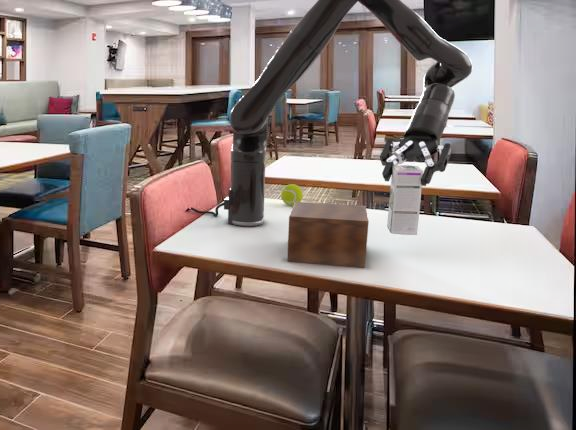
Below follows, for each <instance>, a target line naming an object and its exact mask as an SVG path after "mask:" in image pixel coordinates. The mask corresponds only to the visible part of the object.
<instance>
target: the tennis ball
mask: <svg viewBox="0 0 576 430" xmlns="http://www.w3.org/2000/svg"><path fill="white" fill-rule="evenodd" d="M280 197H281V200H282V201H283V203H284V204H285V205H287V206H292V207H293V206H294V203H295V202H302V200H303V197H304V193H303V190H302V188H301V187H300V186H299V185H297V184H294V183H290V184H287V185H285V186H284V187H283V188H282V190H281V192H280Z"/></svg>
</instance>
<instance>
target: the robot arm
mask: <svg viewBox="0 0 576 430" xmlns="http://www.w3.org/2000/svg"><path fill="white" fill-rule="evenodd" d="M357 3H359V4H361V5H362V6H363V7H365V8H366V9H367V10H368V11H369V12H370V13H371V14H372V15H373V16H374V17H376V18H377V19H378V21H380V22H381V24H382V25H383V26H384V27H385V28H386V29H387V30H388V32H389V33H390V34H391V35H392V37H394V38H395V39H396V41H397V42H398V43H399V45H401V46H402V47H403V49H404V50H405V51H406V52H407V53H408V54H409V55H410V56H411V57H412V58H413V59H414V60H415V61H417V62H421V61H424V60H426V59H427V60H428V59H431V60H434V61H436V62H435V63H433V64H432V65H431V66H430V67H429V68H428V69H427V71H426V73H425V74H424V77H423V85H422V94H421V96H420V99H419V101H418V104H417V106H416V108H415V109H414V110H413V112H412V115H411V117H410V120H409V122H408V125H407V126H406V129H405V132H404V134H403V138H401V140H399V141H393V139H391V138H388V139H386V142H385V144H384V146H383V148H382V151H381V154H380V156H379V160H380V162H381V163H380V164H381V166H384V167H383V170H382V173H381V175H382V177H383V179H384V181H385V182H390V181H391V177H392V167H393V166H399V165H403V163H405V162H406V161H407V162H417V163H422V162H424V164H425V168H424V170H423V175H422V178H421V184H422V187H426V186H427V185H429V184H430V183H431V181H432V179H433V176H434V173H437V172H439V173H440V172H441V173H443V172H445V171H446V168H447V166H448V163H449V161H450V158H451V155H452V147H451V144H450V143H448V142H447V143H445V144H440V141H441V138H442V136H443V133H444V131H445V129H446V127H447V124H448V120H449V115H450V112H451V109H452V107H453V104H454V101H455V96H456V95H455V94H456V93H455V91H454V88H453V87H455V86H456V85H458V84H459V83H461V82H463V81H464V80H465V79H467V78H468V77H469V76H470V75H471V73H472V72H473V63H472V59H471V58H470V57H469V55H467V53H466V52H464V51H463V50H462V49H460V48H459V47H457V46H456V45H454V44H452V43H450V42H449V41H447V40H446V39H443V38H442V37H440V36H439V35H438V34H437V33H436V32H435V31H434V29H432V27H431V26H430V25H429V24H428V23H427V21H425V20H424V19H423V17H421V16H420V15H419V14H418V13H417V12H416V11H414V10H413V9H412V8H410V7H409V6H408V5H407V4H406V3H404V2H403V1H402V0H317V1H316V2H315V3H314V4H313V6H311V8H309V10H307V12H305V14H304V15H303V17H301V19H299V21H298V22H297V24H296V25H295V26H294V28H293V29H292V30H291V31H290V32H289V33H288V35H287V36H286V37H285V39H284V40H283V41H282V42H281V44H280V45H279V47H278V49H277V50H276V51H275V52H274V54H273V56H272V58H271V59H270V60H269V62H268V63H267V65H266V67H265V68H264V70H263V72H262V73H261V74H260V76H259V78H258V79H257V80H256V81H255V83H254V84H253V85H252V86H251V87H250V89H249V90H248V91H247V92H246V93H245V94H244V95H242V97H241V98H240V99H239V100H238V101H237V102H236V103H235V104H234V105H233V106H232V108H231V110H230V114H229V124H230V126H231V128H232V144H231V149H230V183H229V184H230V185H229V187H230V188H229V189H228V196H226V197H225V198H224V199H223V202H222V203H219V204H218V205H217V206H216V207H215V210H214V211H215V212H214V211H211V210H198V209H196V208H194V207H191V206H190V207H191V209H189V207H187V208H185V212H189V211H192V212H195V213H197V214H202V215H205V214H206V215H213V216H214V217H218V216H219V209H220V208H221V207H223V210H224V211H225V210H227V224H229V225H235V226H238V227H239V226H240V227H257V226H262V225H263V224H264V223H265V214H264V213H265V190H266V189H265V187H266V186H265V185H266V184H265V183H266V156H267V149H268V147H267V146H268V125H269V116H270V114H271V113H272V111H273V110H274V108H275V107H276V105H277V104H278V102H279V101H280V99H281V98H282V97H284V95H285V94H286V93H287V92H288V91H289V90H290V89H291V88H292V87H293V86H294V85H295V84H296V83H297V82H298V81H299V80H300V79H301V78H302V77H304V75H305V74H306V73H307V72H308V71H309V69H310V68H311V67H312V66H313V65H314V64H315V62H316V61H317V59H319V57H320V56H321V54H322V53H323V51H325V49H326V48H327V47H328V44H329V43H330V42H331V40H332V38H333V36H334V35H335V34H336V32H337V30H338V28H339V27H340V25H341V24H342V23H341V22H342V21H343V20H344V18H345V17H346V15H348V13H349V12H350V11H351V10H352V8H353V7H354V6H355V5H356V4H357ZM438 152H439V157H438V160H437V162H434V160H433V159H432V156H433V155H435V154H436V153H438ZM179 301H180V302H183V300H182V299H180V300H179Z"/></svg>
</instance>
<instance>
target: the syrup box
mask: <svg viewBox="0 0 576 430" xmlns="http://www.w3.org/2000/svg"><path fill="white" fill-rule="evenodd" d="M423 173H424V170H423V169H422V168H420V167H419V166H417V165H405V164H404V165H403V164H399V165H397V166H393V167H392V175H391V177H390V190H389V201H388V212H387V225H386V226H387V230H388V231H389V233H390V234H393V235H400V236H401V235H403V236H418V230H419V221H420V209H421V200H422V188H423V186H422V184H421V178H422V175H423Z"/></svg>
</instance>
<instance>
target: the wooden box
mask: <svg viewBox="0 0 576 430" xmlns="http://www.w3.org/2000/svg"><path fill="white" fill-rule="evenodd" d="M287 232H288V233H287V235H288V236H287V257H286V258H287V259H286V261H287V262H289V263H290V262H292V263H305V264H315V265H325V266H327V265H328V266H340V267H351V268H352V267H353V268H364V269H365V268H366V258H367V248H368V247H367V246H368V233H369V217H368V212H367V206H366V205H362V204H347V203H346V204H344V203H326V202H325V203H324V202H308V201H300V202H295V203H294V205H293V206H292V208H291V210H290V214H289V215H288V231H287Z"/></svg>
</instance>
